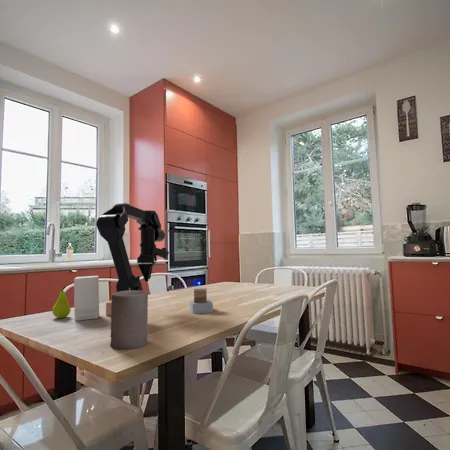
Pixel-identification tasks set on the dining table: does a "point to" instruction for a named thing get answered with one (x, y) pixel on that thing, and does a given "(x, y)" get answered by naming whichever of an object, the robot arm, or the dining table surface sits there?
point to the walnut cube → (200, 295)
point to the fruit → (61, 306)
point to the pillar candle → (129, 319)
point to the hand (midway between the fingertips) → (147, 280)
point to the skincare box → (86, 297)
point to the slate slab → (201, 307)
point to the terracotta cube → (108, 308)
